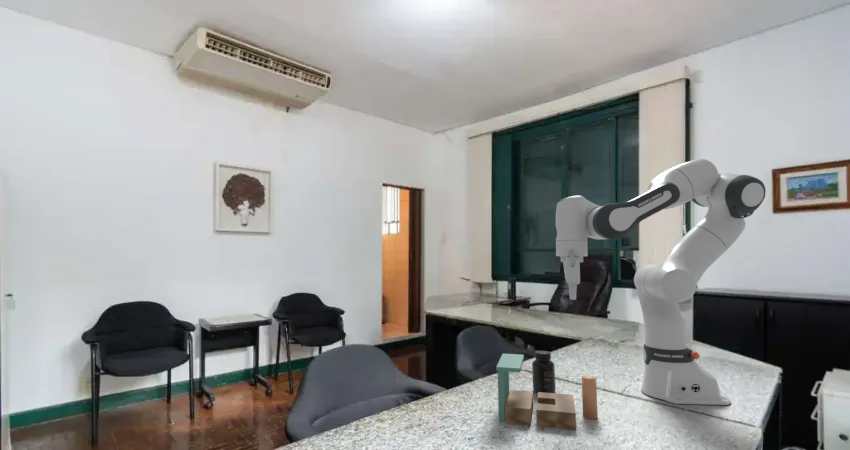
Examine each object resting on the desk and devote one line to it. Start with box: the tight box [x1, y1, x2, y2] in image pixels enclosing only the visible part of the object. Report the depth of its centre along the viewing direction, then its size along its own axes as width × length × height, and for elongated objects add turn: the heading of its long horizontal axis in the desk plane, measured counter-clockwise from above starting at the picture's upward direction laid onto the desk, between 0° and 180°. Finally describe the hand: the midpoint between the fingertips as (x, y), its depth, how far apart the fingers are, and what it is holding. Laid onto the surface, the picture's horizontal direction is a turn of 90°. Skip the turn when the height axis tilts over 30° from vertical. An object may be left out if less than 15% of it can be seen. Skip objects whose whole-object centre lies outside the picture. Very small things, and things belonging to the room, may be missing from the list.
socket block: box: [505, 389, 577, 431], centre depth 113 cm, size 17×14×4 cm
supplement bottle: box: [531, 350, 556, 394], centre depth 133 cm, size 7×7×12 cm
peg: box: [581, 375, 598, 420], centre depth 112 cm, size 4×4×10 cm
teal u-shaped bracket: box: [495, 353, 525, 423], centre depth 115 cm, size 6×15×14 cm, turn 164°
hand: (572, 297), depth 125 cm, fingers open, 8 cm apart
